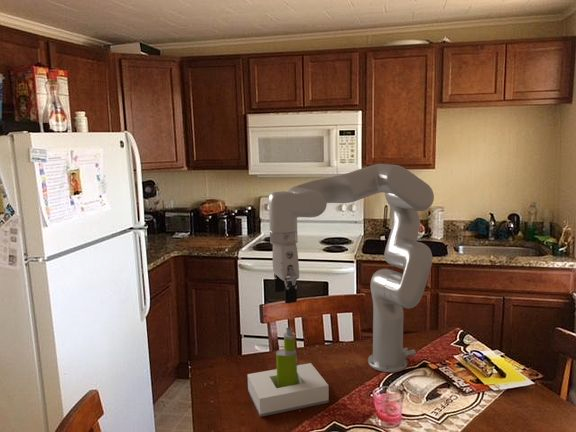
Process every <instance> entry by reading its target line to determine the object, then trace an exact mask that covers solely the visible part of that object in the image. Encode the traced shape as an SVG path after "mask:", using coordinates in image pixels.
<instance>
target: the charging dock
mask: <svg viewBox="0 0 576 432" xmlns="http://www.w3.org/2000/svg"><path fill="white" fill-rule="evenodd" d="M329 386H330V385H329V384H328V383H327V382H326V380H325V379H324V378H323V376H321V374H320V373H319V371H318V370H317V369H316V368H315V367H314V365H313V364H312V363H311V362H310V363H308V362H307V363H304V364H297V385H292V386H286V387H281V388H277V368H275V369H271V370H264V371H258V372H253V373H247V391H248V393H249V396H250V398H251V400H252V402H253V405H254V408H256V411H257V413H258V415H259V417H265V416H266V417H267V416H271V415H276V414H281V413H285V412H291V411H294V410H295V411H296V410H300V409H305V408H309V407H314V406H319V405H324V404H328V403H329V397H330V395H329V391H330V390H329Z"/></svg>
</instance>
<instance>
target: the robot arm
mask: <svg viewBox="0 0 576 432" xmlns="http://www.w3.org/2000/svg"><path fill="white" fill-rule="evenodd" d="M379 193H384V197H385V200H386V202H387V203H388V206H389V207H390V209H391V211H392V217H393V219H392V224H391V228H390V232H389V235H388V239H387V242H386V245H385V250H384V253H383V256H384V260H385V262H386V263H388V264H389V265H390V266H393V267H395V268H398V269H401V270H403V273H402V272H398V271H395V270H393V269H390V268H382V269H381V268H380V269H378V270H376V272H374V273H373V274H372V277H371V280H370V293H371V298H372V308H373V310H372V312H373V313H372V316H373V319H372V353H371V354H370V355H369V356H368V358H367V362H368V365H369V366H370V368H371V369H372V368H373V369H374V370H376V371H379V372H383V373H398V372H401V371H403V370H405V369H406V368H407V367H408V359H407V358H408V357H413V356H416V355H417V352H416V349H413V348H412V349H408V347H403V346H404V341H403V340H404V309H413V308H415V307H416V306H417V305H418V304H419V303H420V301H421V300H422V297H423V295H424V292H425V290H426V289H425V288H426V286H427V282H428V278H429V275H430V272H431V269H432V266H433V254H432V249H430V246H428V245H427V244H425V243H423V242H420V241H418V240H417V239H418V236H419V232H420V228H421V227H420V226H421V218H420V215H419V212H425V211H427V210H428V209H430V208H431V207H432V205H433V203H434V200H435V195H434V191H433V189H432V187H431V186H430V185H429V184H428V183H427V182H425V181H424V180H422V179H421V178H419V177H418V175H415V174H414V173H413V172H411V171H410V170H408V169H407V168H405V167H403V166H401V165H399V164H390V163H389V164H387V163H376V164H371V165H369V166H366V167H363V168H359V169H356V170H353V171H351V172H348V173H347V172H346V173H343V174H338V175H333V176H330V177H326V178H320V179H315V180H311V181H307V182H304V183H301V184H298V185H295V186H292V187H291V188H289V189H288V190H286V191H285V190H284V191H275V192H272V193H270V195H269V196H268V216H269V218H268V219H269V241H270V242H269V243H270V244H271V245H272V270H273V273H274V274H273V278H274V279H273V280H274V281H273V282H274V283H273V284H274V285H273V286H274V288H273V289H274V292H275V293H280V292H281V293H282V292H284V302H285V304H294V303H297V301H298V296H297V294H298V292H297V290H298V289H297V286H298V285H297V284H298V283H297V280H299V278H300V266H299V265H300V264H299V253H298V252H299V251H298V246H297V243H298V241H299V240H298V218H317V217H320V216H321V215H322V214H323V213H324V212H325V211H326V209H327V205H328V204H349V203H354V202H357V201H359V200H362V199H365V198H367V197H371V196H374V195H376V194H379Z"/></svg>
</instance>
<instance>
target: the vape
mask: <svg viewBox="0 0 576 432" xmlns="http://www.w3.org/2000/svg"><path fill="white" fill-rule="evenodd" d="M285 330H286V332H285V333H283V347H284V348H281V349H278V350H276V352H275V359H276V360H275V361H276V362H275V363H276V369H277V388H281V387H286V386H292V385H297V365H298V364H297V362H298V357H297V351H296V334H295V332H293V328H292V327H286V328H285Z"/></svg>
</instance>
